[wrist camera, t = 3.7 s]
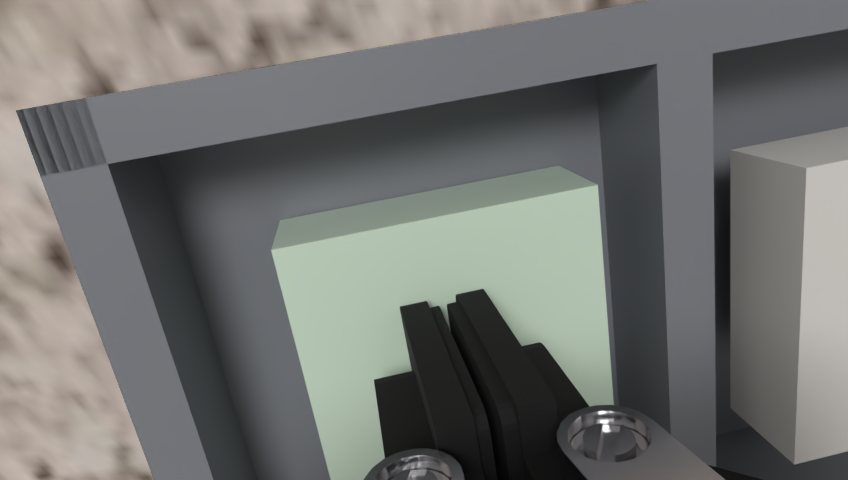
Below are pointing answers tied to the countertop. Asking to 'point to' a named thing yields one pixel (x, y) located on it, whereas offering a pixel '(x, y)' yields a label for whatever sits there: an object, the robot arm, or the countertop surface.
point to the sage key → (440, 289)
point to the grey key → (791, 292)
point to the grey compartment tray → (425, 171)
